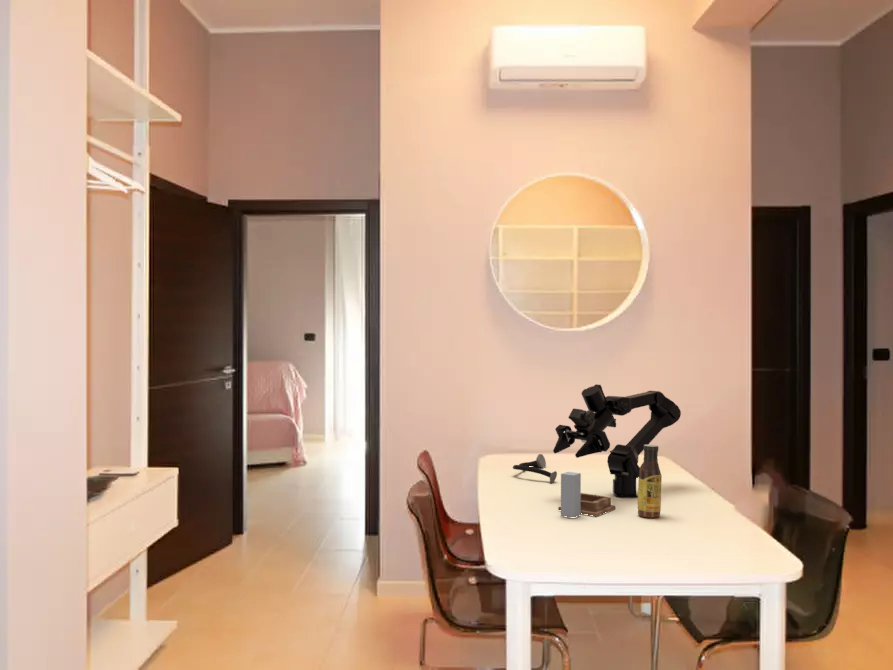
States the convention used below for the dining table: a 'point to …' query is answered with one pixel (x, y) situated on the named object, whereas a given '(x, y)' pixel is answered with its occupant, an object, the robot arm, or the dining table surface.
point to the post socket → (595, 504)
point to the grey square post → (570, 494)
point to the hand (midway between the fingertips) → (564, 454)
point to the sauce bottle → (649, 484)
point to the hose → (538, 463)
